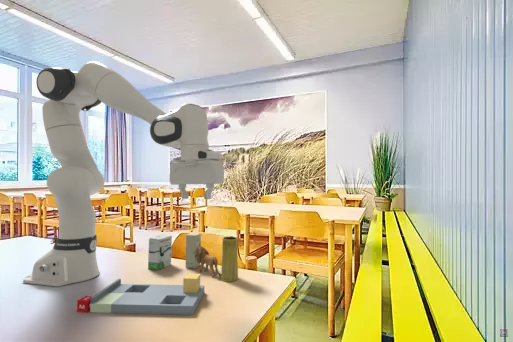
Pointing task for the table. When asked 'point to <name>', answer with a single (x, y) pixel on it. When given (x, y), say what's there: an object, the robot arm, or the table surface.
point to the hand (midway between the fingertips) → (196, 198)
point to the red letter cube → (84, 304)
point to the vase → (229, 259)
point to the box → (192, 249)
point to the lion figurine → (206, 260)
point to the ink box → (159, 252)
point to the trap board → (145, 299)
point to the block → (191, 283)
